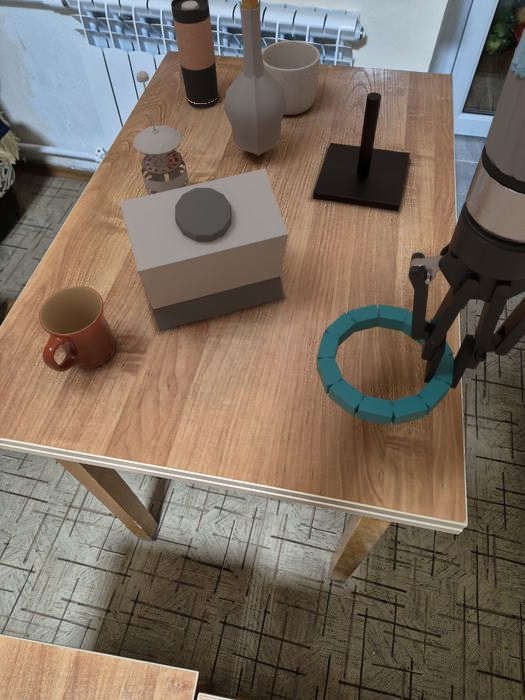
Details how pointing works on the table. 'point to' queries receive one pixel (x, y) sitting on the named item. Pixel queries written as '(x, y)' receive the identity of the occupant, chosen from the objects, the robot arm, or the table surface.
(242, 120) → the bottle
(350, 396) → the ring
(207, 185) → the alarm clock
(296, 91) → the planter
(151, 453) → the table surface
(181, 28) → the travel mug
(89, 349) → the mug
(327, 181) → the post
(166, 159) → the french press
